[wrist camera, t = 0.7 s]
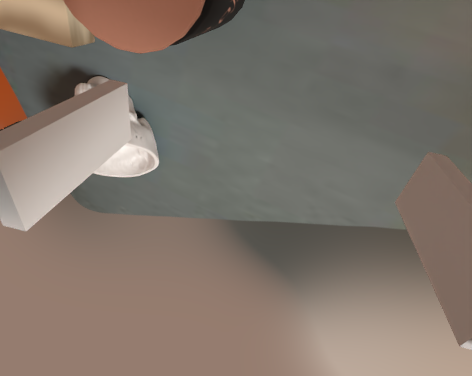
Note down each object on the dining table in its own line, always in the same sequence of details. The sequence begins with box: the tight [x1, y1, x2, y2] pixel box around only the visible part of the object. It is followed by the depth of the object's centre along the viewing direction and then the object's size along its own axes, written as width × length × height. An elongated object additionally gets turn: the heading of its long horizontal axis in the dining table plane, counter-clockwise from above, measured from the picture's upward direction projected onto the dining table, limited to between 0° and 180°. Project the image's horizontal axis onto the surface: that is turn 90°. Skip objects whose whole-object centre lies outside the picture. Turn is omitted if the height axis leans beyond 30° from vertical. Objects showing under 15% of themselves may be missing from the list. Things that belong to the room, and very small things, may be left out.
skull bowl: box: [75, 76, 159, 177], centre depth 41 cm, size 10×14×12 cm
